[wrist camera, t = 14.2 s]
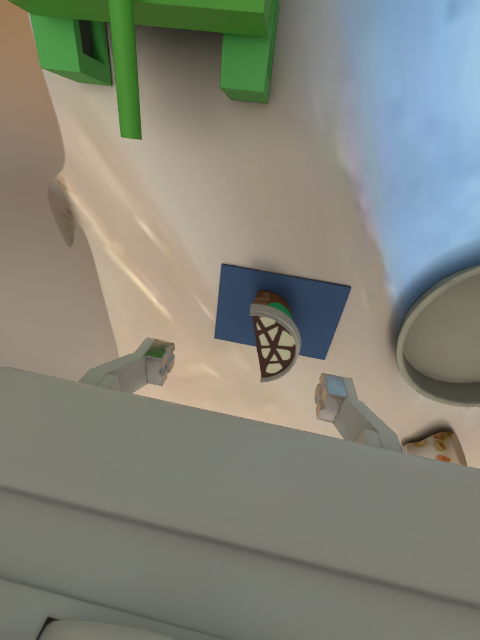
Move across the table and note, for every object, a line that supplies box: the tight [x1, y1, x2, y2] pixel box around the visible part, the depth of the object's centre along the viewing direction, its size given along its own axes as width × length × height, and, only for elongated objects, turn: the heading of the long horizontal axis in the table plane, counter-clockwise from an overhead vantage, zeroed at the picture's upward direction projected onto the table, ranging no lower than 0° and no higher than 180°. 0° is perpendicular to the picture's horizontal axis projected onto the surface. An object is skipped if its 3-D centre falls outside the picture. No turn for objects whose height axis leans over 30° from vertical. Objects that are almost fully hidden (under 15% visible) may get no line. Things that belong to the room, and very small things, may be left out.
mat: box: [214, 264, 351, 360], centre depth 46 cm, size 20×14×1 cm
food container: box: [250, 290, 301, 383], centre depth 41 cm, size 12×6×10 cm, turn 9°
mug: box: [404, 432, 467, 466], centre depth 52 cm, size 8×10×10 cm
